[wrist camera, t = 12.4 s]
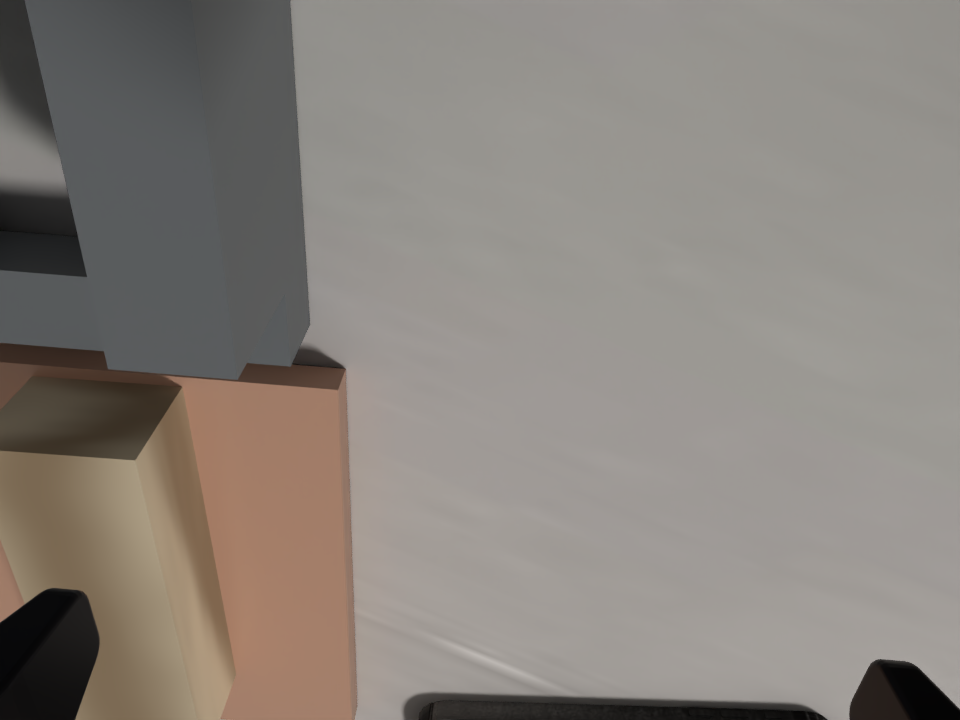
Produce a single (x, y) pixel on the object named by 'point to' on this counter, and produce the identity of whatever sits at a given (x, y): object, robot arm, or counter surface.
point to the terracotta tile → (257, 522)
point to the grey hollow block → (167, 189)
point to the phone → (595, 712)
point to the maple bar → (119, 539)
